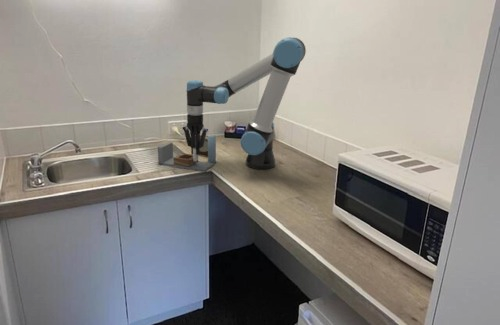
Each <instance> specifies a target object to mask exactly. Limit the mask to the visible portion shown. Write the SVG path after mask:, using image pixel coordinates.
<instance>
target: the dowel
mask: <svg viewBox="0 0 500 325" xmlns="http://www.w3.org/2000/svg"><path fill="white" fill-rule="evenodd" d="M207 136H208V157H207V163H213V164H216V163H217V151H216V150H217V136H216V135H215V134H211V135H210V134H209V135H207Z"/></svg>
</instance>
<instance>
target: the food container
mask: <svg viewBox="0 0 500 325" xmlns="http://www.w3.org/2000/svg"><path fill="white" fill-rule="evenodd" d="M201 135H202V134H200V139H201ZM208 136H209V135H208V134H206V137H205V141H204V145H203V147H201V148H200V154H199V155H198V156H201V157H206V158H208ZM195 145H196V141H195ZM195 147H196V146H195Z"/></svg>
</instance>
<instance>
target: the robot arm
mask: <svg viewBox="0 0 500 325" xmlns="http://www.w3.org/2000/svg"><path fill="white" fill-rule="evenodd" d="M306 53H307V50H306V45H305V43H304V42H303V40H301V39H300V38H298V37H292V36H291V37H290V36H289V37H285V38H282V39H280V40H279V41H278V42H277V43H276V44H275V47H274V48H273V52H272V53H271V54H269V55H267V56H266V57H264V58H262V59H261V60H258V61H257V62H256V63H253V64H252V65H251V66H249V67H248V68H246V69H244V70H242V71H240V72H239V73H237V74H236V75H234V76H231V77H230V78H228V79H227V80H225V81H223V82H222V83H219V84H217V85H214V86H209V85H204V82H203V81H202V80H193V79H192V80H188V81H187V83H186V90H185V92H186V111H187V114H186V118H187V119H186V121H187V123H186V125H184V126H183V127H182V129H183V132H184V137H185V141H186V144H187V147H189V148H191V150H190V151H191V153H190V154H192V155H193V161H197V160H198V161H199V156H200V155H199V154H200V148H201V147H203V145H204V141H205V137H206V135H207V133H208V131H209V129H208V128H205V127H204V126H205V125H204V114H203V113H204V103H209V104H218V105H223V104H225V105H226V104H228V101H229V99H230V98H231V97H232V96H234V95H236V94H237V93H238V92H240V91H242V90H244V89H245V88H248V87H249V86H251V85H253V84H255V83H256V82H258V81H260V80H261V79H263V78H266V77H268V76H269V78H268V79H267V82H266V85H265V88H264V91H263V93H262V96H261V98H260V101H259V104H258V107H257V109H256V112H255V115H254V118H253V119H251V120H249V121H248V124H247V127H246V129H245V132H244V133H243V134H242V136H241V138H240V146H241V148H242V150H243V151H244V152H245V153H246V154H247V156H246V159H245V165H246V166H247V167H249V168H251V169H254V170H268V169H272V168H274V167H276V159H275V155H274V151H273V148H274V147H273V146H274V130H275V124H274V119H275V117H276V115H277V112H278V110H279V107H280V104H281V101H282V99H283V97H284V94H285V93H286V89H287V87H288V85H289V81H290V79H291V77H293V76H295V75H297V71H298V68H299V66H300V65H301V62H302V61H303V60H304V58H305V56H306ZM200 135H201V139H200ZM195 141H196V145H195ZM195 146H196V147H195Z"/></svg>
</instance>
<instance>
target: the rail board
mask: <svg viewBox="0 0 500 325" xmlns="http://www.w3.org/2000/svg"><path fill="white" fill-rule="evenodd" d="M173 144H174V143H173V142H171V141H168V142H165V143H163V144H161V145H159V146H158V147H157V157H158V165H162V166H166V167H167V166H169V167H174V168H179V169H187V170H190V171H191V170H192V171H197V172H203V173H205V172H207V171H208V170H209V169H211V168H212V167H214V166H215V163H208V161H207V162H205V161H201V160H200V161H199V160H198V161H197V162H196V163H194V164H193V165H191V166H184V165H178V164H174V160H173V158H174V157H175V156H174V147H173V146H174V145H173Z"/></svg>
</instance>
